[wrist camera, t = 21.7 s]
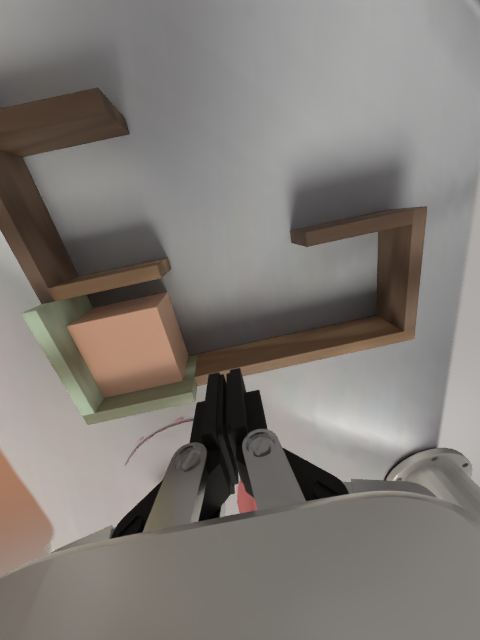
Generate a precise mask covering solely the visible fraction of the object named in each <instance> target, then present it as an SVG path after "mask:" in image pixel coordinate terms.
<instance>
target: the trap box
mask: <svg viewBox="0 0 480 640" xmlns="http://www.w3.org/2000/svg"><path fill="white" fill-rule="evenodd" d="M127 134H129V131H128V128H127V125H126V122H125V118H124V117H123V115H122V114H121V113H120V112H119V111H118V110H117V109H116V108H115V106H114V105H113V104H112V103H111V102H110V101H109V100H108V98H107V97H106V96H105V95H104V94H103V93H102V92H101V91H100V89H99V88H94V89H90V90H85V91H80V92H76V93H71V94H66V95H62V96H57V97H52V98H48V99H43V100H39V101H34V102H29V103H25V104H20V105H15V106H11V107H6V108H1V109H0V230H1V232H2V234H3V235H4V237H5V239H6V241H7V243H8V244H9V246H10V248H11V250H12V252H13V253H14V255H15V257H16V259H17V261H18V262H19V264H20V266H21V268H22V270H23V271H24V273H25V275H26V277H27V279H28V280H29V282H30V284H31V286H32V288H33V289H34V291H35V293H36V295H37V297H38V298H39V300H40V302H41V305H39V306H37V307H35V308H32V309H30V310H28V311H26V312H24V313H22V314H21V315H22V316H23V318H24V320H25V321H26V323H27V325H28V326H29V328H30V330H31V331H32V333H33V335H34V336H35V338H36V340H37V341H38V343H39V345H40V346H41V348H42V350H43V351H44V353H45V355H46V356H47V358H48V360H49V361H50V363H51V365H52V366H53V368H54V370H55V371H56V373H57V375H58V376H59V378H60V380H61V381H62V383H63V385H64V386H65V388H66V389H67V391H68V393H69V394H70V396H71V398H72V399H73V401H74V403H75V404H76V406H77V408H78V409H79V411H80V413H81V414H82V416H83V418H84V419H85V421H86V423H87V424H88V425H90V424H95V423H99V422H104V421H108V420H113V419H118V418H122V417H127V416H131V415H136V414H141V413H145V412H150V411H154V410H159V409H164V408H168V407H173V406H177V405H182V404H186V403H191V402H195V399H196V391H197V386H200V385H205V384H207V383H208V376H209V374H213V373H218V372H219V373H220V375H222V374H224V376H225V380H226V374H227V373H230V370H232V369H237V368H240V369H241V373H242V376H246V375H251V374H256V373H260V372H265V371H269V370H274V369H279V368H283V367H288V366H292V365H297V364H301V363H306V362H311V361H315V360H320V359H324V358H329V357H334V356H338V355H343V354H347V353H352V352H357V351H361V350H366V349H370V348H375V347H380V346H384V345H389V344H393V343H398V342H402V341H407V340H412V339H414V335H415V325H416V315H417V305H418V295H419V285H420V275H421V265H422V255H423V244H424V234H425V224H426V214H427V206H426V207H414V208H401V209H390V210H385V211H381V212H376V213H371V214H367V215H362V216H358V217H353V218H348V219H344V220H339V221H334V222H330V223H325V224H321V225H316V226H311V227H307V228H302V229H297V230H293V231H290V233H291V242H292V243H294V244H298V245H302V246H306V247H308V246H313V245H318V244H322V243H327V242H331V241H336V240H341V239H345V238H350V237H355V236H359V235H364V234H368V233H373V232H378V231H379V238H378V274H377V310H376V316H371V317H367V318H362V319H357V320H353V321H348V322H344V323H339V324H334V325H330V326H325V327H321V328H316V329H311V330H307V331H302V332H298V333H293V334H288V335H284V336H279V337H275V338H270V339H265V340H261V341H256V342H252V343H247V344H242V345H238V346H233V347H229V348H224V349H219V350H215V351H210V352H206V353H201V354H196V355H192V356H188V360H187V365H186V369H185V374H184V378H183V381H181V382H176V383H172V384H167V385H162V386H158V387H153V388H148V389H144V390H139V391H135V392H130V393H125V394H121V395H116V396H111V397H107V398H104V397H103V395H102V393H101V391H100V389H99V387H98V385H97V383H96V382H95V380H94V378H93V376H92V374H91V372H90V370H89V368H88V366H87V365H86V363H85V361H84V359H83V357H82V355H81V353H80V351H79V350H78V348H77V346H76V344H75V342H74V340H73V338H72V336H71V334H70V333H69V331H68V329H67V327H66V326H68V325H69V324H70V323H72V322H73V321H75V320H76V319H78V318H79V317H81V316H82V315H84V314H85V313H87V312H88V311H90V310H91V309H93V307H92V305H91V303H90V301H89V298H88V296H87V294H91V293H96V292H101V291H105V290H110V289H114V288H119V287H124V286H128V285H133V284H138V283H142V282H147V281H151V280H156V279H161V278H162V277H163V276H164V275H165V274H166V273H167V272H168V271H169V270H171V266H170V263H169V260H168V258H163V259H159V260H154V261H150V262H145V263H140V264H136V265H131V266H126V267H122V268H117V269H113V270H108V271H103V272H99V273H94V274H89V275H85V276H80V277H78V275H77V273H76V271H75V269H74V266H73V264H72V262H71V260H70V258H69V256H68V254H67V252H66V249H65V247H64V245H63V243H62V241H61V239H60V237H59V234H58V232H57V230H56V228H55V226H54V224H53V222H52V220H51V217H50V215H49V213H48V211H47V209H46V207H45V205H44V203H43V200H42V198H41V196H40V194H39V192H38V190H37V188H36V185H35V183H34V181H33V179H32V177H31V175H30V173H29V171H28V168H27V166H26V164H25V162H24V160H23V158H22V157H25V156H30V155H34V154H39V153H44V152H48V151H53V150H58V149H62V148H67V147H71V146H76V145H81V144H85V143H90V142H95V141H99V140H104V139H109V138H113V137H118V136H123V135H127Z"/></svg>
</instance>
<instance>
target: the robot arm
mask: <svg viewBox="0 0 480 640" xmlns="http://www.w3.org/2000/svg"><path fill="white" fill-rule="evenodd" d="M238 472H239V475H240V478H241V482H242V483H243V484H244V487H245V491H246V492H247V493H248V494H249V495H251V496H252V497H253V498H254V499H255V502H256V506H257V511H251V512H246V513H241V514H235V515H230V516H225V501H226V499H227V498H228V497H229V496H230V494H235V491H234V484H238ZM471 476H472V466H471V463H470V461H469V460H468V459H467V458H466V457H465V456H464V455H463V454H461V453H460V452H458V451H456V450H453V449H448V448H434V449H429V450H425V451H422V452H419V453H416V454H414V455H412V456H410V457H408V458H407V459H405V460H403V461H402V462H401V463H399V464H398V465H397V466H396V467H395V468H394V469H393V470H392V471H391V472H390V474H389V475H388V477H387V479H386V481H385V480H363V479H351V482H342V481H341V480H339V479H338V478H337V477H335V476H333V475H332V474H330V473H328V472H326V471H324V470H322V469H321V468H319V467H317V466H315V465H313V464H311V463H310V462H308V461H306V460H304V459H302V458H300V457H299V456H297V455H295V454H293V453H291V452H289V451H288V450H286V449H284V448H282V446H281V444H280V442H279V439H278V437H277V436H276V434H275V433H273V432H272V431H270V430H268V429H267V425H266V420H265V415H264V410H263V405H262V401H261V396H260V391H259V390H256V391H251V392H246V389H245V385H244V381H243V377H242V373H241V369H240V368H237V369H232V370H230V373H227V374H226V380H225V376H224V374H222V375H220V373H219V372H218V373H213V374H209V376H208V383H207V391H206V398H205V401H202V402H198V403H197V405H196V410H195V416H194V421H193V427H192V433H191V438H190V443H188V444H186V445H184V446H182V447H181V448H180V449H178V450H177V452H176V453H175V454H174V455H173V457H172V459H171V462H170V464H169V467H168V469H167V472H166V474H165V477H164V479H163V480H162V481H161V482H160V483H159V484H158V485H157V486H156V487H155V488H154V489H153V490H152V491H151V492H150V493H149V494H148V495H147V496H146V497H145V498H144V499H142V500H141V501H140V502H139V503H138V504H137V505H136V506H135V507H134V508H133V509H132V510H131V511H130V512H129V513H128V514H127V515H126V516H125V517H124V518H123V519H122V520H121V521H120V522H119V523H118V525H117V527H115V528H113V526H112V525H111V526H109V527H106V528H104V529H102V530H100V531H97V532H95V533H93V534H91V535H88V536H86V537H84V538H81V539H79V540H77V541H75V542H72V543H70V544H68V545H65V546H63V547H61V548H59V549H57V550H55V551H53V552H52V553H50V554H48V555H45V556H43V557H40V558H37V559H35V560H32V561H30V562H28V563H26V564H24V565H21V566H20V567H17V568H15V569H13V570H12V571H10V572H8V573H6V574H5V575H3V576H1V577H0V640H480V487H479V486H478V485H477V484H476V483H474V481H473V480H472V479H471ZM224 516H225V517H224Z"/></svg>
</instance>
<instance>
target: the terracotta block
mask: <svg viewBox="0 0 480 640" xmlns="http://www.w3.org/2000/svg"><path fill="white" fill-rule="evenodd" d="M66 327H67V329H68V331H69V333H70V334H71V336H72V338H73V340H74V342H75V344H76V346H77V348H78V350H79V351H80V353H81V355H82V357H83V359H84V361H85V363H86V365H87V366H88V368H89V370H90V372H91V374H92V376H93V378H94V380H95V382H96V383H97V385H98V387H99V389H100V391H101V393H102V395H103V397H104V398H107V397H111V396H116V395H121V394H125V393H130V392H135V391H139V390H144V389H148V388H153V387H158V386H162V385H167V384H172V383H176V382H181V381H183V378H184V374H185V369H186V365H187V360H188V353H187V350H186V347H185V344H184V340H183V337H182V334H181V331H180V328H179V325H178V322H177V319H176V316H175V313H174V310H173V307H172V304H171V301H170V298H169V295H168V292H165V293H160V294H156V295H151V296H146V297H142V298H137V299H132V300H128V301H123V302H118V303H114V304H109V305H104V306H100V307H95V308H93V309H91V310H90V311H88V312H87V313H85V314H84V315H82V316H81V317H79V318H78V319H76V320H75V321H73V322H72V323H70V324H69V325H68V326H66Z"/></svg>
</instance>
